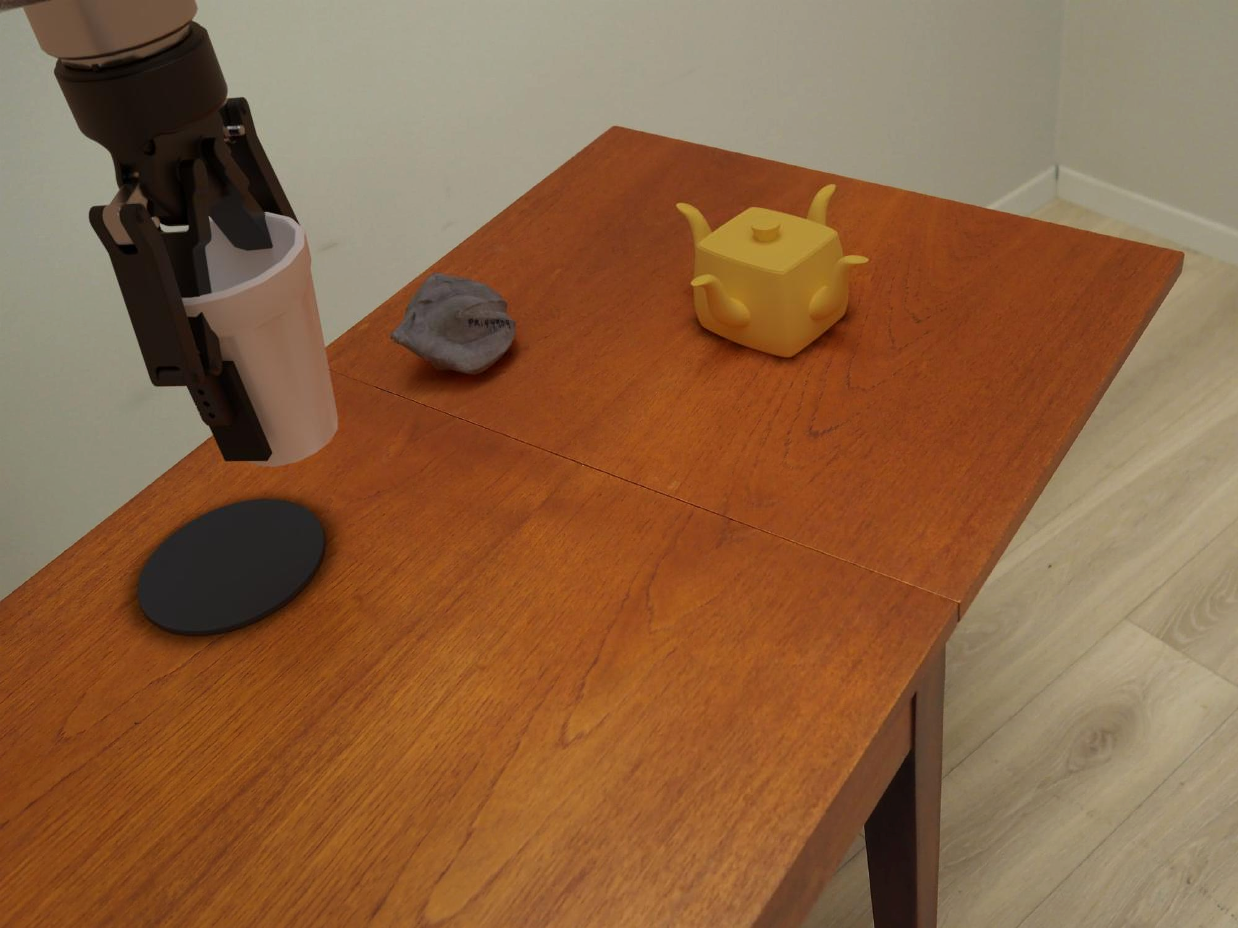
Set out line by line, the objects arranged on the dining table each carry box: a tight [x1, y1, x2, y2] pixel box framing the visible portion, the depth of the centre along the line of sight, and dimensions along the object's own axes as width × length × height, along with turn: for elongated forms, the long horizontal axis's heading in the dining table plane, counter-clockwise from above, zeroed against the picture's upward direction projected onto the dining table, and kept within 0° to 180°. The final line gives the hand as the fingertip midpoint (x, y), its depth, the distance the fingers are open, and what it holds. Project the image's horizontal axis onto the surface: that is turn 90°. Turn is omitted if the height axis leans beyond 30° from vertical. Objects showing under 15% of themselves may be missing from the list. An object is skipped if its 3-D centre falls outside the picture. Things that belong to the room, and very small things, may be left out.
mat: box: [136, 498, 326, 636], centre depth 88 cm, size 14×14×1 cm
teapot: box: [675, 183, 869, 358], centre depth 100 cm, size 15×14×10 cm
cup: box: [176, 212, 339, 467], centre depth 69 cm, size 10×10×13 cm
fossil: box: [390, 272, 517, 376], centre depth 102 cm, size 11×9×8 cm
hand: (278, 409), depth 71 cm, fingers closed on cup, 8 cm apart
